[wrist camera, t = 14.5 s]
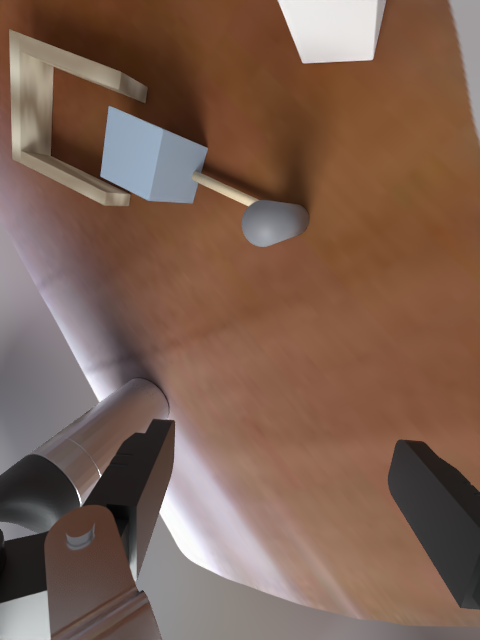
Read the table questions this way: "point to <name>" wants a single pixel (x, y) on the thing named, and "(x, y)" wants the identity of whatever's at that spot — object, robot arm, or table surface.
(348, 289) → the table surface
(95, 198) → the frame
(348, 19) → the milk
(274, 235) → the block
